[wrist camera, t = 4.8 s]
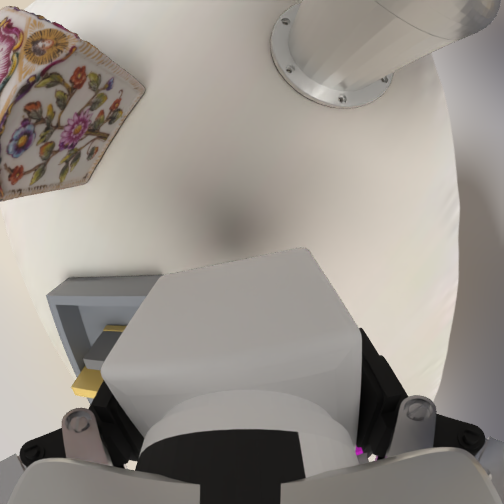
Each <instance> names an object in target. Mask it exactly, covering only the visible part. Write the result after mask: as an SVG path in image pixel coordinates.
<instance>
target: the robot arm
mask: <svg viewBox="0 0 504 504" xmlns="http://www.w3.org/2000/svg"><path fill="white" fill-rule="evenodd" d="M500 2H501V0H302V2H301V3H299V4H296V5H294V6H292V7H291V8H289V9H287V10H286V11H285V12H284V13H283V14H282V15H281V16H280V17H279V19H278V20H277V22H276V23H275V25H274V28H273V31H272V36H271V53H272V56H273V60H274V63H275V65H276V67H277V68H278V70H279V72H280V74H281V75H282V76H283V77H284V79H285V80H286V81H287V82H288V83H289V84H290V85H291V86H292V87H293V88H294V89H295V90H296V91H298V92H299V93H301V94H302V95H304V96H305V97H307V98H308V99H310V100H313V101H315V102H317V103H319V104H322V105H326V106H329V107H334V108H342V109H344V108H356V107H360V106H364V105H366V104H368V103H371V102H373V101H374V100H376V99H378V98H379V97H381V95H382V94H383V93H384V92H385V91H386V90H387V88H388V87H389V85H390V83H391V80H392V77H393V72H394V71H396V70H398V69H400V68H402V67H404V66H406V65H408V64H410V63H412V62H414V61H416V60H418V59H420V58H422V57H424V56H426V55H428V54H430V53H432V52H434V51H436V50H438V49H440V48H443V47H445V46H447V45H449V44H451V43H453V42H456V41H458V40H460V39H463V38H465V37H468V36H470V35H472V34H475V33H477V32H479V31H481V30H482V29H484V28H486V27H487V26H488V25H489V24H490V23H491V22H492V21H493V20H494V18H495V17H496V16H497V13H498V11H499V8H500ZM284 24H286V25H284ZM286 70H290V71H291V73H288V72H287V71H286ZM381 80H382V81H381ZM338 98H340V99H341V100H342V102H340V101H339V99H338ZM359 330H360V332H361V336H362V368H361V392H360V408H359V421H358V431H357V441H356V445H357V447H358V448H359V447H361V448H362V451H363V454H364V453H368V452H373V454H374V455H377V456H376V459H375V461H373V462H369V463H364V464H360V465H355V466H351V467H346V468H341V469H336V470H330V471H326V472H323V473H320V474H317V475H314V476H311V477H307V478H304V479H300V480H296V481H291V482H287V483H282V484H281V502H280V504H504V442H502V441H499V440H496V439H494V438H492V437H489V438H488V439H486V438H485V435H484V433H483V431H482V430H481V429H480V428H479V427H478V426H475V425H473V424H469V423H466V422H462V421H459V420H455V419H452V418H448V417H445V416H442V415H439V414H436V412H437V411H436V406H435V404H434V403H433V402H432V401H431V400H430V399H428V398H427V397H424V396H419V395H414V396H410V397H408V395H407V394H406V392H405V390H404V389H403V387H402V385H401V384H400V382H399V380H398V379H397V377H396V375H395V374H394V372H393V370H392V369H391V367H390V366H389V364H388V362H387V361H386V359H385V358H384V357H383V356H382V355H380V356H379V354H378V353H377V351H376V349H375V348H374V346H373V345H372V343H371V341H370V340H369V338H368V337H367V335H366V333H365V332H364V330H363V329H362V328H359ZM144 439H145V438H144V437H143V436H142V435H141V433H140V432H139V431H138V429H137V428H136V427H135V425H134V424H133V423H132V421H131V420H130V418H129V417H128V416H127V414H126V413H125V411H124V410H123V409H122V407H121V406H120V404H119V403H118V401H117V400H116V398H115V397H114V395H113V394H112V392H111V390H110V389H109V387H108V386H107V384H106V383H105V381H104V380H103V382H102V384H101V386H100V388H99V390H98V392H97V393H96V395H95V397H94V399H93V401H92V403H91V405H90V407H89V409H85V408H76V409H73V410H71V411H69V412H68V413H66V415H65V416H64V417H63V419H62V428H61V429H58V430H56V431H53V432H51V433H49V434H46V435H43V436H41V437H38V438H35V439H33V440H30V441H28V442H26V443H25V444H24V445H23V446H22V448H21V450H20V455H19V456H17V455H16V454H14V455H12V456H10V457H9V458H7V459H5V460H3V461H1V462H0V504H200V485H199V484H192V483H187V482H183V481H179V480H175V479H171V478H168V477H165V476H162V475H159V474H153V473H146V472H140V471H134V470H129V469H127V466H126V463H128V461H129V460H132V461H138V458H139V455H140V452H141V448H142V445H143V442H144Z"/></svg>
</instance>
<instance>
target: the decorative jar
mask: <svg viewBox="0 0 504 504" xmlns="http://www.w3.org/2000/svg"><path fill="white" fill-rule="evenodd" d="M144 91H145V88H144V86H143V85H142V84H141V83H140V82H138V81H137V80H136V79H135V78H134V77H133V76H132V75H131V74H129V73H128V72H127V71H126V70H124V69H123V68H121V67H120V66H119V65H117V64H116V63H114V62H113V61H112V60H111V59H110V58H108V57H107V56H106V55H104V54H103V53H102V52H100V51H99V50H98V49H97V48H96V47H95V46H93V45H91V44H90V43H89V42H87V41H83V40H81V39H80V38H79V36H78V34H76V33H73V32H70V31H69V30H68V29H66V28H64V27H63V26H62V25H60V24H58V23H56V22H53V23H51V22H50V21H49V20H46V19H45V18H44V17H43V16H41V15H35V14H34V13H29V12H27V11H24V10H20V9H19V8H18V7H12V6H6V7H4V8H2V9H1V10H0V202H1V201H6V200H10V199H14V198H18V197H24V196H28V195H34V194H39V193H45V192H49V191H55V190H60V189H65V188H70V187H74V186H79V185H83V184H86V183H87V181H88V180H89V178H90V176H91V174H92V172H93V170H94V169H95V167H96V166H97V164H98V162H99V161H100V159H101V157H102V155H103V154H104V152H105V150H106V149H107V147H108V145H109V144H110V142H111V140H112V139H113V137H114V135H115V134H116V132H117V131H118V129H119V128H120V126H121V125H122V123H123V122H124V120H125V118H126V117H127V115H128V114H129V112H130V111H131V110H132V108H133V107H134V106H135V104H136V103H137V101H138V100H139V99H140V98H141V96H142V95H143V93H144Z"/></svg>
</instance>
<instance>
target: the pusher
mask: <svg viewBox="0 0 504 504" xmlns="http://www.w3.org/2000/svg"><path fill="white" fill-rule="evenodd" d="M125 328H126V326H114V325H106V326H105V328H104V329H103V332H102V333H101V334H100V336H99V337H98V338H97V340H96V341H95V343H94V344H93V345H92V347H91V348H90V350H89V351H88V352H87V354H86V355H85V357H84V358H83V360H84V363H85V367H84V368H83V370H82V371H81V373H80V374H79V376H78V377H77V379H76V380H75V382H74V384H73V385H72V389H73V391H74V393H75V395H78V396H84V397H88V398H94V397H95V395H96V393H97V392H98V390H99V388H100V386H101V384H102V382H103V380H104V379H103V378H102V375H101V367H102V365H103V363H104V361H105V360H106V358H107V356H108V355H109V353H110V352H111V350H112V348H113V347H114V345H115V344H116V342H117V340H118V339H119V337H120V336H121V334H122V333H123V331H124V330H125Z"/></svg>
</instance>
